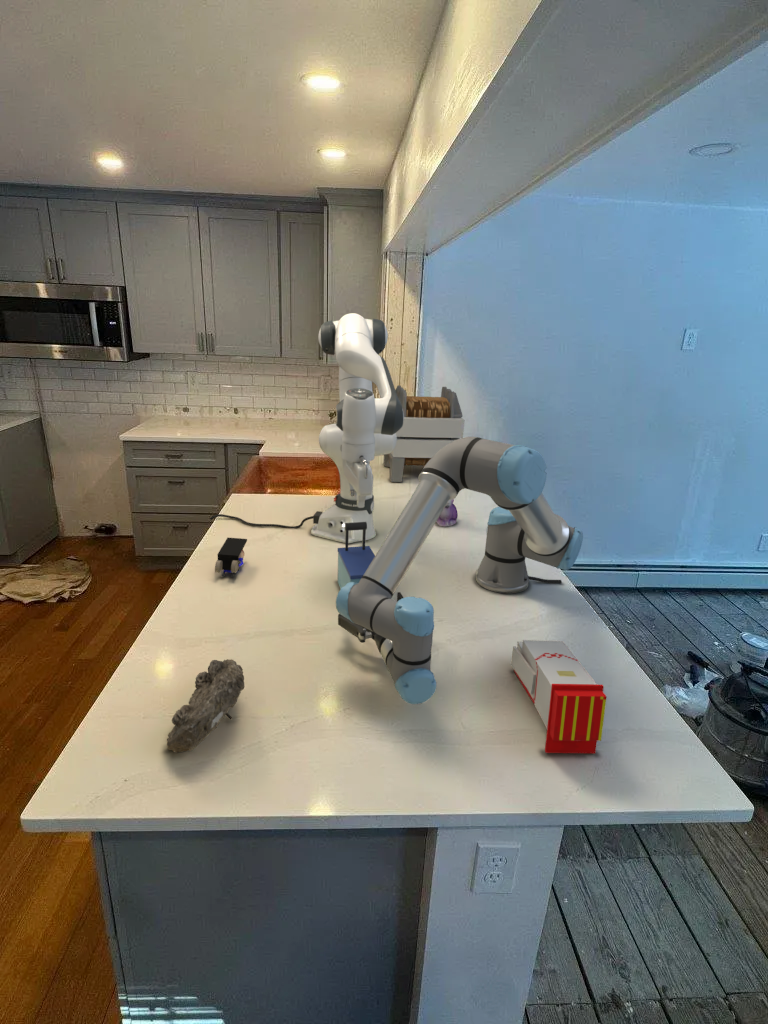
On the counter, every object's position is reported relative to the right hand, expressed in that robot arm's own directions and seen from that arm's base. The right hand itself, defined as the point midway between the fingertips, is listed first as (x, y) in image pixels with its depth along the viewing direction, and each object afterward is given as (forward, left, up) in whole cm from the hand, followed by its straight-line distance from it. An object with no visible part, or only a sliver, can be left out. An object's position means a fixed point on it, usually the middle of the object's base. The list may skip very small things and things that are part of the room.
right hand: (372, 599), depth 140 cm
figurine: (-45, -64, -7) cm, 78 cm away
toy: (-28, +38, -7) cm, 47 cm away
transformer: (-56, -130, -7) cm, 142 cm away
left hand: (-1, -23, +18) cm, 29 cm away
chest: (-1, -15, -7) cm, 17 cm away
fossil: (+38, +27, -7) cm, 47 cm away
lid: (-1, -16, +2) cm, 16 cm away
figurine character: (+33, -37, -7) cm, 50 cm away
